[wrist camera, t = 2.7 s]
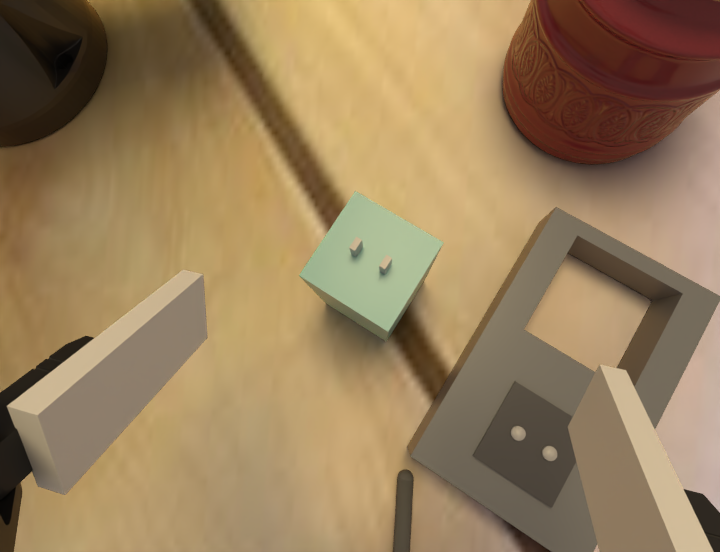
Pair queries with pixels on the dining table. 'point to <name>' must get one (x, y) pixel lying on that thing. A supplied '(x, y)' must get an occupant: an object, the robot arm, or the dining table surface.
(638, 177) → the dining table surface
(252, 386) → the dining table surface
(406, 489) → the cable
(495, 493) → the grey flat block
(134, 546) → the dining table surface
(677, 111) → the canister
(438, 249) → the charger block
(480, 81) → the dining table surface
